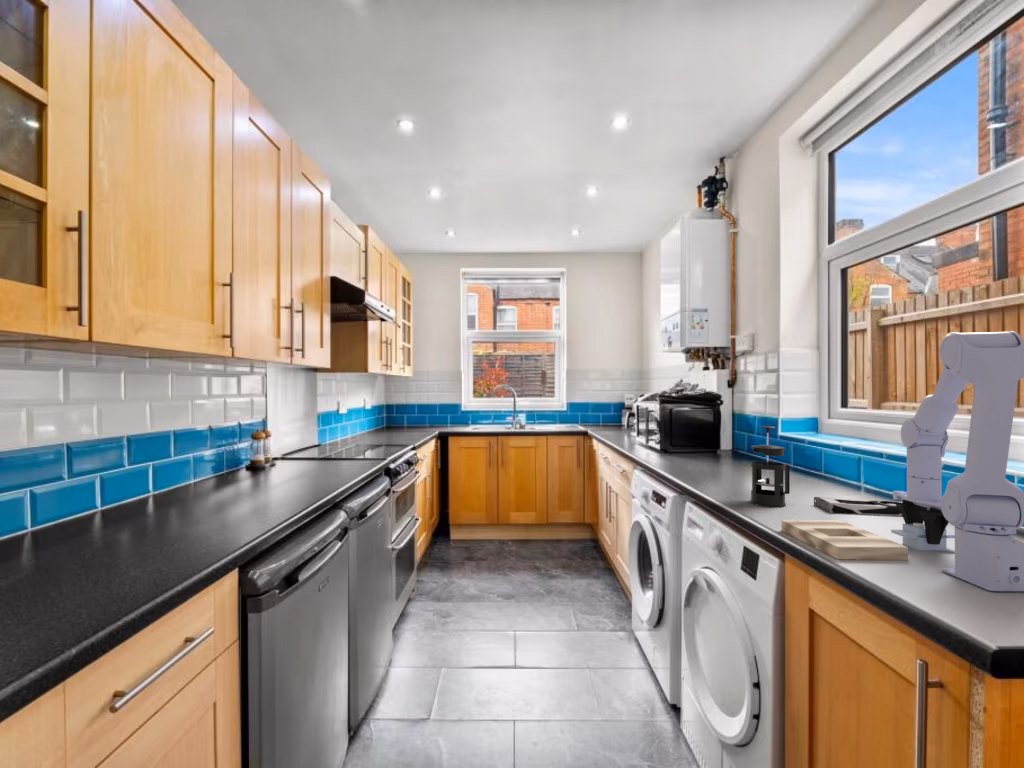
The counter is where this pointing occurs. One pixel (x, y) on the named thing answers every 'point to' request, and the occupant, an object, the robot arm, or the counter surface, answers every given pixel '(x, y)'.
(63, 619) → the counter surface
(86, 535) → the counter surface
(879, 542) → the board
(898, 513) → the graphics card
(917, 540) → the block
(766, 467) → the french press
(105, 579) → the counter surface
